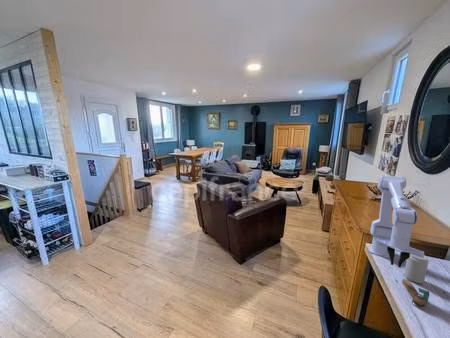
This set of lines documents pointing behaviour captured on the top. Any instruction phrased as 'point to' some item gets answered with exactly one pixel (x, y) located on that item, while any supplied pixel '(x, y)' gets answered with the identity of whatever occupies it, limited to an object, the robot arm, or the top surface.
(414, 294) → the latch bar
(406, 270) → the beverage can
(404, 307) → the top surface
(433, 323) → the top surface
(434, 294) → the top surface
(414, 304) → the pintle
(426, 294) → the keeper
